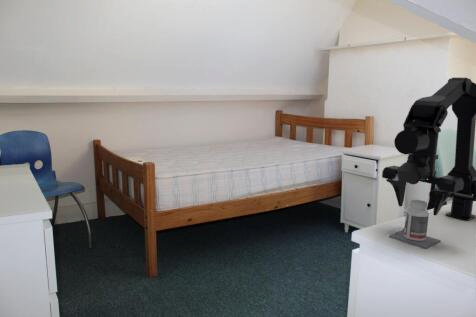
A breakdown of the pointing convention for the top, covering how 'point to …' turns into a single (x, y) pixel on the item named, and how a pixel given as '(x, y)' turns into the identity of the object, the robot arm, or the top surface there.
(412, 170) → the robot arm
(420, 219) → the pill bottle
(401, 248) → the top surface
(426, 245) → the slate mat
